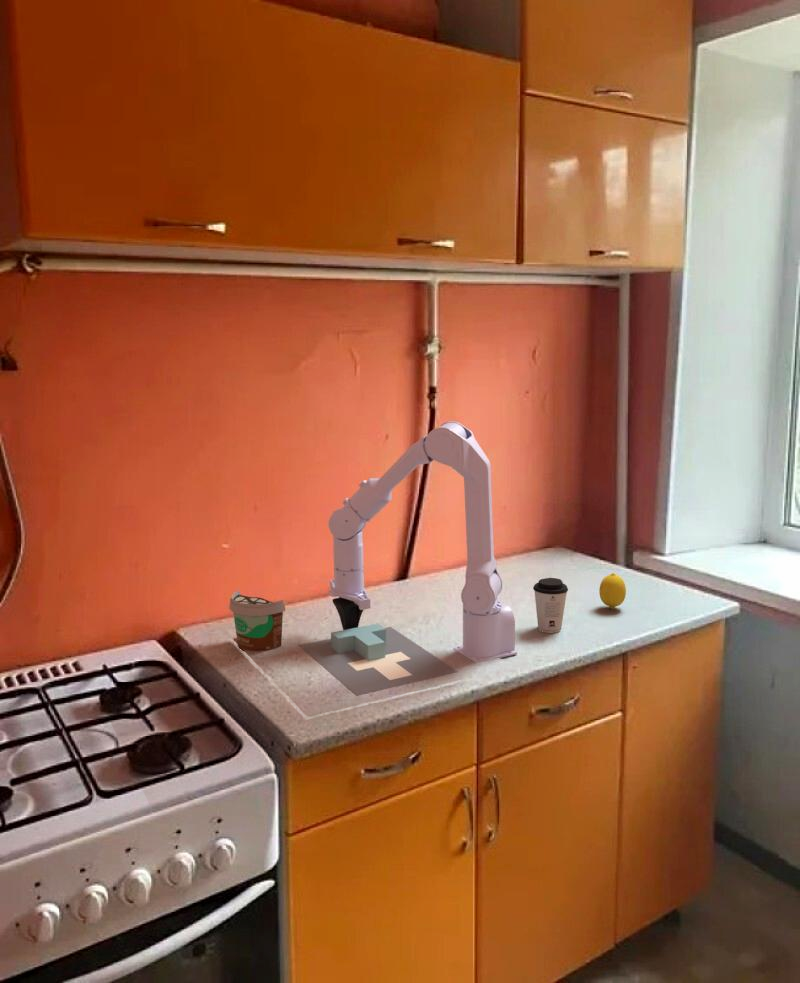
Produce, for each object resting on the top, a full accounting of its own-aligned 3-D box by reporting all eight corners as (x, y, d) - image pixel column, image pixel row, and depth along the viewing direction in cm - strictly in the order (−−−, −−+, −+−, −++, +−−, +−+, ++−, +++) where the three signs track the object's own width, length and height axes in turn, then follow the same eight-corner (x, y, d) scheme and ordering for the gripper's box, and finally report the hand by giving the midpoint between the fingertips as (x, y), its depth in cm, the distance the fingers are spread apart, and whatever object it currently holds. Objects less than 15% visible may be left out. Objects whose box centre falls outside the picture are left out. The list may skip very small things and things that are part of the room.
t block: (377, 637, 175) (377, 623, 174) (400, 654, 166) (400, 638, 166) (331, 647, 170) (330, 632, 169) (352, 664, 162) (352, 649, 161)
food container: (217, 647, 172) (214, 598, 170) (240, 637, 177) (237, 589, 175) (265, 660, 165) (263, 609, 163) (287, 650, 170) (285, 600, 168)
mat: (390, 629, 181) (390, 626, 181) (457, 674, 158) (458, 671, 158) (298, 647, 171) (298, 645, 171) (356, 698, 149) (356, 695, 149)
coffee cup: (559, 637, 175) (560, 589, 173) (526, 631, 179) (527, 583, 177) (572, 626, 181) (573, 579, 179) (540, 620, 184) (541, 574, 182)
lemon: (600, 603, 195) (601, 568, 193) (626, 606, 193) (628, 570, 191) (597, 611, 189) (598, 575, 188) (623, 614, 188) (625, 578, 186)
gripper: (314, 561, 176) (317, 626, 178) (345, 580, 163) (347, 649, 166) (347, 556, 179) (349, 620, 182) (379, 574, 166) (381, 642, 169)
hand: (350, 633), depth 174 cm, fingers closed
